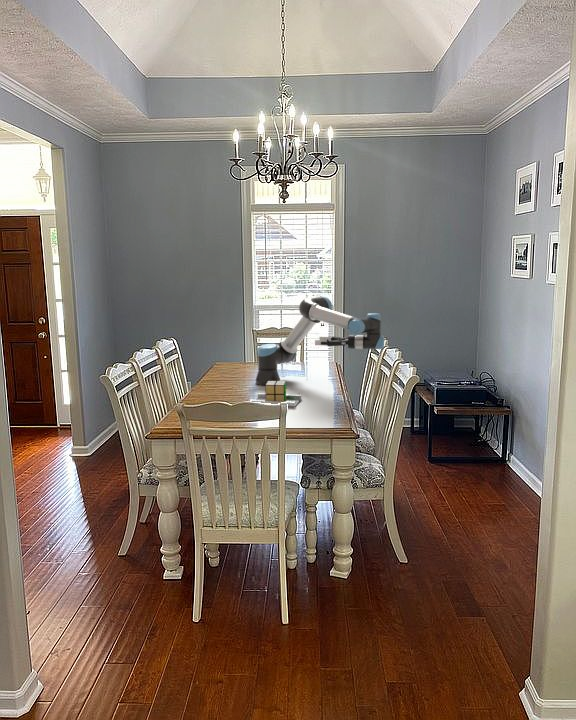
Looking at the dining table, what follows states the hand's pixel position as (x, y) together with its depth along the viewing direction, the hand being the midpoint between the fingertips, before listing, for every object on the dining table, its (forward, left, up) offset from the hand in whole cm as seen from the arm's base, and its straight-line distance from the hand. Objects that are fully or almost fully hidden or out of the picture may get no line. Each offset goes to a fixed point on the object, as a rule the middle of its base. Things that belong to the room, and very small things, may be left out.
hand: (317, 340), depth 330 cm
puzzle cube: (-18, -25, -29) cm, 43 cm away
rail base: (-18, -25, -30) cm, 43 cm away
